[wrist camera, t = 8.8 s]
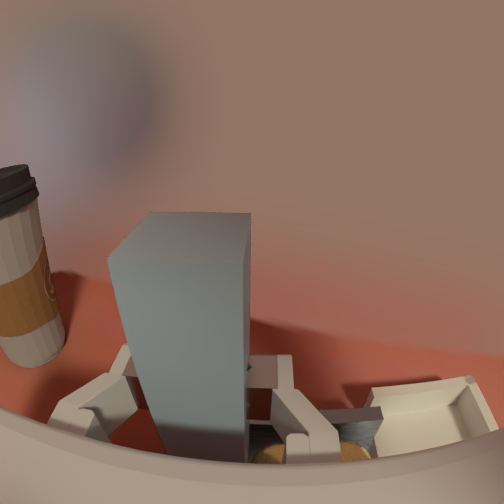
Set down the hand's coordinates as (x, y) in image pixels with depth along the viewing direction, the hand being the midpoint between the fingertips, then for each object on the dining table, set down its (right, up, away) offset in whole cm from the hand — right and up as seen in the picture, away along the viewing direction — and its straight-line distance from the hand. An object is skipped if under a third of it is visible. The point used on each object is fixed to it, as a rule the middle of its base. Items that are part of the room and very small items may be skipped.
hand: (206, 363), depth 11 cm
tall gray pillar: (0, -7, +3) cm, 8 cm away
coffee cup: (-17, -4, +12) cm, 22 cm away
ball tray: (+13, -9, +3) cm, 16 cm away
